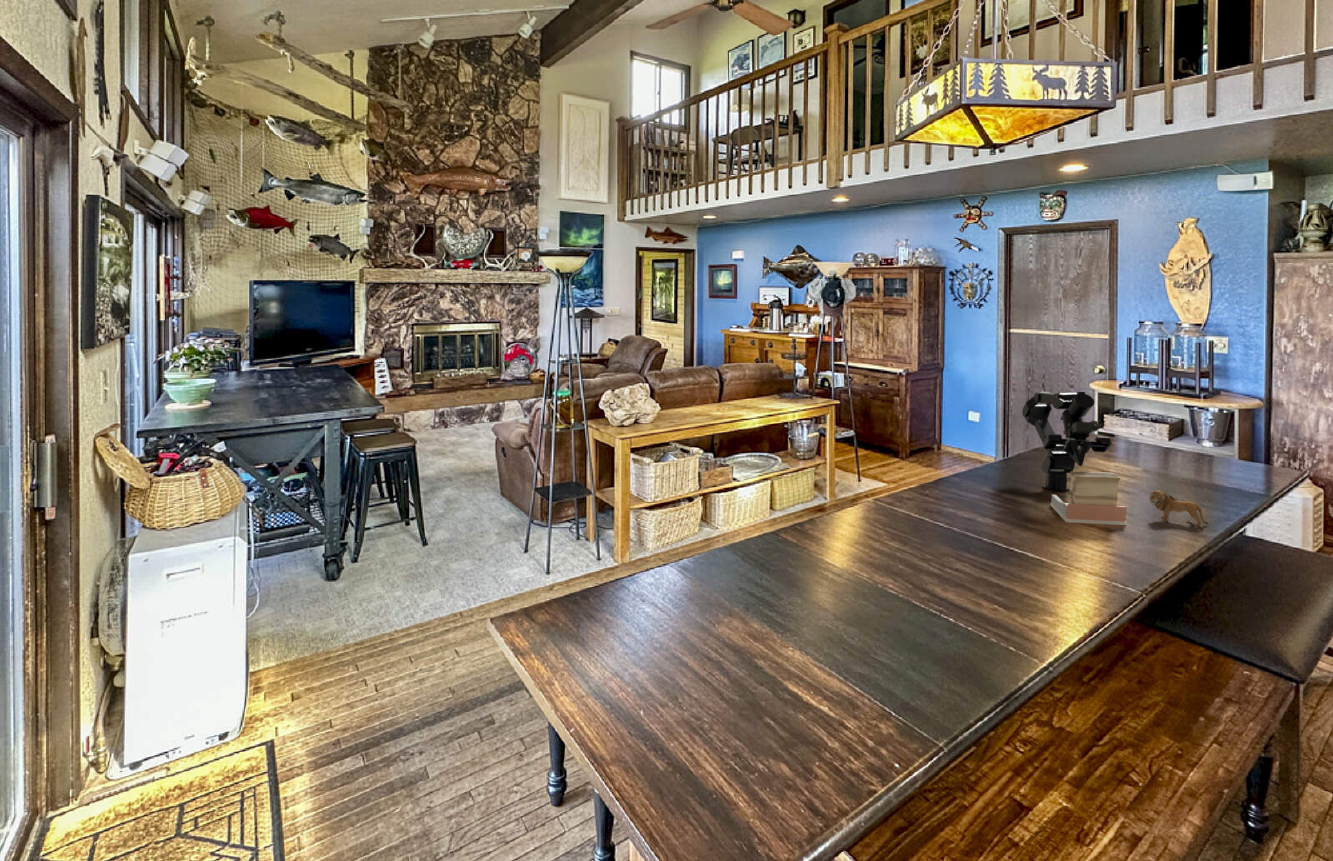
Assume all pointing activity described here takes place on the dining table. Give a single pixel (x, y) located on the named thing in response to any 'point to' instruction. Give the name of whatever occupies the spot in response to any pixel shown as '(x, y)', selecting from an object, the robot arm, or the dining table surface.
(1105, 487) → the cream flanged block
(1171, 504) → the lion figurine
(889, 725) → the dining table surface
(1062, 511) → the box
